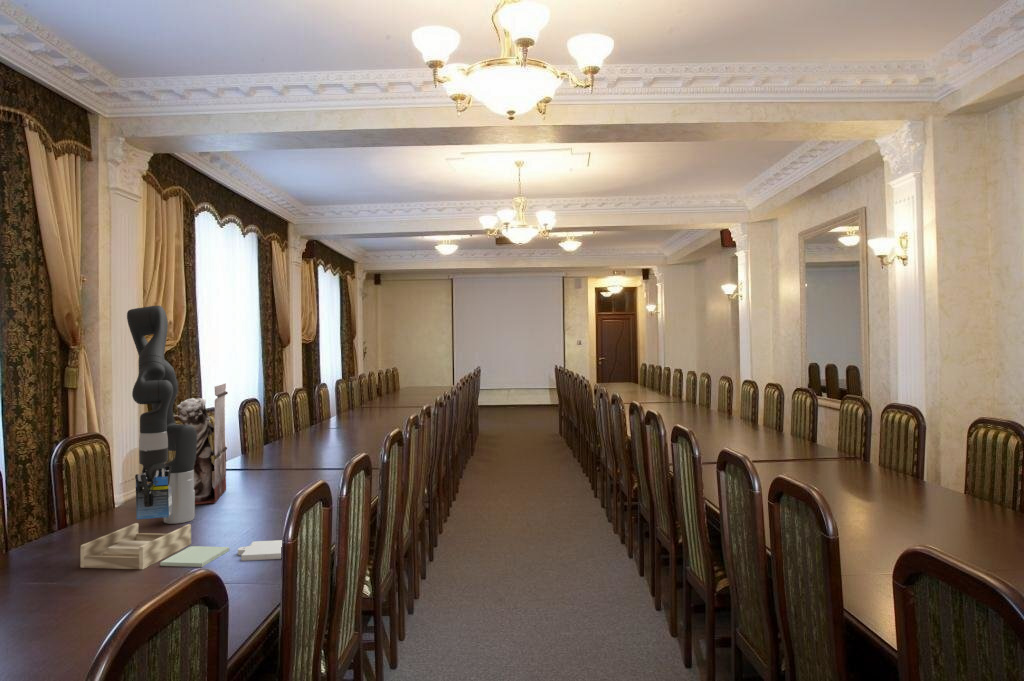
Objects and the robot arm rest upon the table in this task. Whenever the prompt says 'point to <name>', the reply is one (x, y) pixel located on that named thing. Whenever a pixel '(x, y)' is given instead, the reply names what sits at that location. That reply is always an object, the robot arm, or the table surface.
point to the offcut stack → (125, 548)
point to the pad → (195, 556)
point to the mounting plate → (261, 550)
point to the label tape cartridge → (155, 501)
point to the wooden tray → (147, 553)
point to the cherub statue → (207, 445)
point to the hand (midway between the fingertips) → (154, 503)
